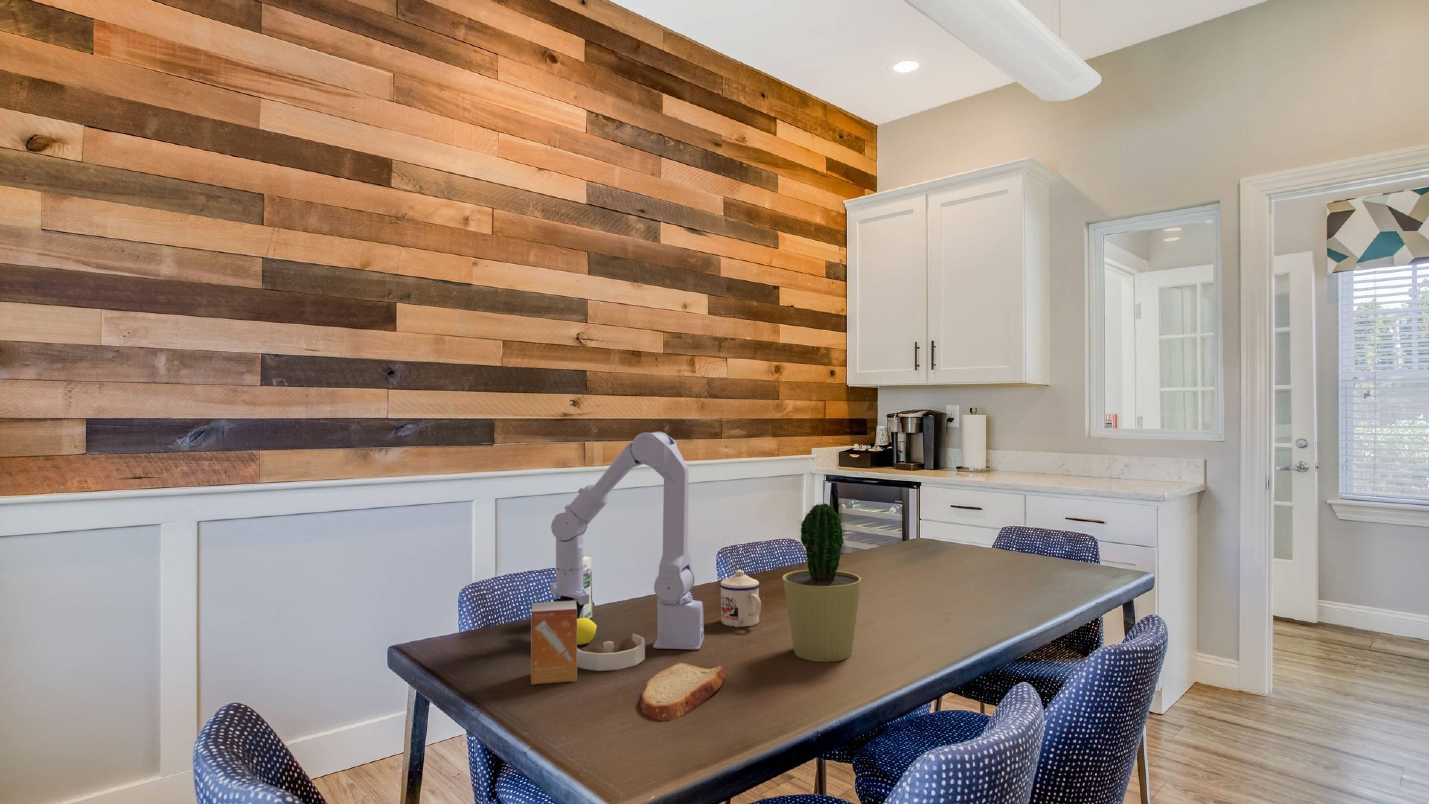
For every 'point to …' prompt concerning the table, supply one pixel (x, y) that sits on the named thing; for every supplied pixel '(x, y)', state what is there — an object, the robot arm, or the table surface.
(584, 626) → the lemon
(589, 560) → the syrup box
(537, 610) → the small box
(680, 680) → the slice of bread
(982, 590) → the table surface
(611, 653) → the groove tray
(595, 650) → the walnut bead
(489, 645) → the table surface
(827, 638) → the potted cactus
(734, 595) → the teacup with lid
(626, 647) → the walnut bead
